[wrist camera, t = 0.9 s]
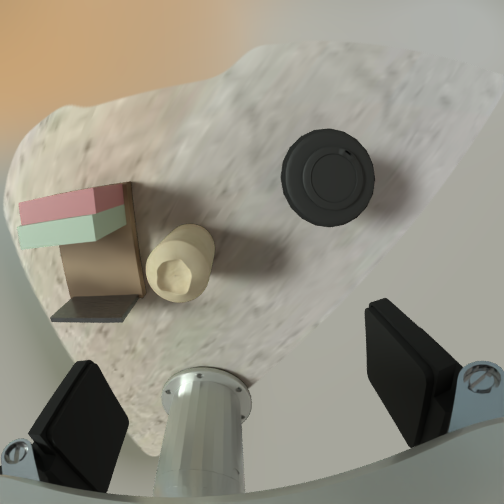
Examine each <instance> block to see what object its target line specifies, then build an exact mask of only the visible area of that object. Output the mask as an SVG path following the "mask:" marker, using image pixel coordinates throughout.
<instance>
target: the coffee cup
mask: <svg viewBox="0 0 504 504" xmlns="http://www.w3.org/2000/svg"><path fill="white" fill-rule="evenodd" d="M281 182H282V188H283V193H284V195H285V197H286V199H287V201H288V203H289V205H290V207H291V208H292V209H293V210H294V211H295V212H296V213H297V214H298V215H299V216H300V217H301V218H302V219H304V220H306V221H308V222H310V223H312V224H314V225H317V226H324V227H334V226H340V225H344V224H346V223H348V222H350V221H352V220H353V219H355V218H357V217H358V216H359V215H360V214H361V212H362V211H363V210H364V209H365V208H366V207H367V205H368V203H369V201H370V199H371V197H372V194H373V189H374V182H375V176H374V169H373V164H372V161H371V159H370V157H369V155H368V153H367V151H366V149H365V148H364V147H363V146H362V145H361V144H360V143H359V142H358V140H357V139H355V138H353V137H352V136H350V135H348V134H347V133H345V132H343V131H338V130H334V129H320V130H313V131H311V132H309V133H307V134H305V135H303V136H301V137H300V138H299V139H298V140H297V141H296V142H295V143H294V144H293V145H292V146H291V147H290V148H289V150H288V152H287V154H286V156H285V158H284V160H283V164H282V172H281Z"/></svg>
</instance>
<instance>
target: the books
mask: <svg viewBox="0 0 504 504" xmlns="http://www.w3.org/2000/svg"><path fill="white" fill-rule="evenodd" d="M19 210H20V217H21V224H22V226H19V227H17V230H18V236H19V242H20V247H21V250H23V249H31V248H39V247H48V246H56V245H65V244H74V243H83V242H92V241H97V240H99V239H101V238H102V237H104V236H106V235H108V234H110V233H112V232H113V231H115V230H117V229H119V228H121V227H123V226H125V225H127V223H126V215H125V206H124V197H123V187H122V184H116V185H108V186H102V187H95V188H89V189H83V190H78V191H72V192H67V193H62V194H57V195H52V196H47V197H43V198H38V199H34V200H29V201H25V202H21V203H19Z"/></svg>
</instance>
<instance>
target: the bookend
mask: <svg viewBox="0 0 504 504" xmlns="http://www.w3.org/2000/svg"><path fill="white" fill-rule="evenodd" d="M138 299H139V296H138V294H131V295H106V296H75V297H72V298H71V299H70V300H69V301H68V302H67V303H66V304H65V305H63V306H62V307H61V308H60V309H59V310H58V311H57V312H56V313H55V314H54V315H52V316H51V317H50V319H51V322H90V323H110V322H123V321H124V319H125V318H126V317H127V315H128V314H129V312H130V311H131V309H132V308H133V306H134V305H135V303H136V302H137V300H138Z"/></svg>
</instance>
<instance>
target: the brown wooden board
mask: <svg viewBox="0 0 504 504" xmlns="http://www.w3.org/2000/svg"><path fill="white" fill-rule="evenodd" d="M117 184H122V187H123V197H124V206H125V215H126V223H127V225H125V226H123V227H121V228H119V229H117V230H115V231H113V232H112V233H110V234H108V235H106V236H104V237H102V238H101V239H99V240H97V241H92V242H83V243H74V244H65V245H59V247H60V253H61V258H62V263H63V267H64V272H65V276H66V281H67V285H68V289H69V293H70V297H71V298H72V297H75V296H106V295H131V294H138V296H139V298H143V297H144V296H145V294H146V288H145V283H144V277H143V271H142V265H141V259H140V253H139V246H138V239H137V232H136V224H135V216H134V208H133V198H132V188H131V182H123V183H117ZM110 185H116V184H110ZM104 186H108V185H104ZM98 187H102V186H98ZM92 188H95V187H92ZM87 189H89V188H87ZM81 190H83V189H81ZM76 191H78V190H76ZM70 192H72V191H70ZM65 193H67V192H65ZM60 194H62V193H60ZM55 195H57V194H55Z"/></svg>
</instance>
